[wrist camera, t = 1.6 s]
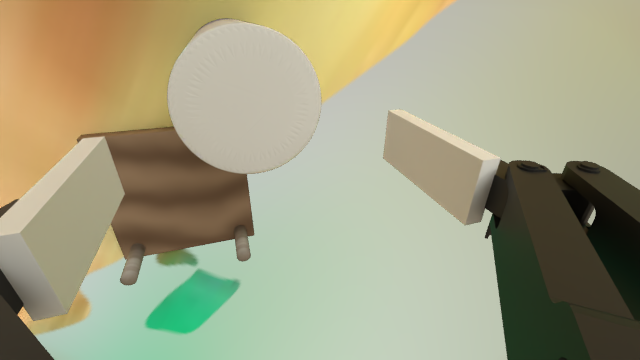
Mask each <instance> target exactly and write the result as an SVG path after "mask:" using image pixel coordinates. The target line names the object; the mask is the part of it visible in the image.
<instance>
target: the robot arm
mask: <svg viewBox="0 0 640 360" xmlns="http://www.w3.org/2000/svg"><path fill="white" fill-rule="evenodd" d="M383 158H384V159H385V160H386V161H387V162H388V163H390V164H391V165H392V166H393V167H395V168H396V169H397V170H398V171H399V172H401V173H402V174H403V175H404V176H405V177H407V178H408V179H409V180H410V181H412V182H413V183H414V184H415V185H417V186H418V187H419V188H420V189H421V190H423V191H424V192H425V193H426V194H427V195H429V196H430V197H431V198H432V199H434V200H435V201H436V202H437V203H438V204H440V205H441V206H442V207H443V208H444V209H446V210H447V211H448V212H449V213H450V214H452V215H453V216H454V217H456V218H457V219H458V220H459V221H460V222H462V223H463V224H464V225H469V224H473V223H478V222H481V220H482V216H483V213H484V210H485V208H486V209H487V210H489V211H490V212H492V213H493V214H492V217H491V220H490V223H489V226H488V229H487V232H486V235H485V238H488V237H489V235H491V236H492V243H493V250H494V259H495V266H496V274H497V282H498V289H499V297H500V305H501V313H502V320H503V328H504V335H505V343H506V351H507V359H508V360H640V190H638V189H637V188H635V187H634V186H632V185H631V184H629V183H628V182H626V181H625V180H623V179H622V178H620V177H619V176H617V175H615V174H614V173H612V172H611V171H609V170H608V169H606V168H604V167H602V166H599V165H597V164H596V163H592V162H588V161H582V162H581V161H570V162H567V163H566V166H565V168H564V171H563V173H562V174H557V173H551V171H550V170H549V169H548V168H546V167H545V166H542V165H540V164H538V163H535V162H532V161H521V160H519V161H518V160H517V161H511V162H509V164H508V163H506V162H504V161H502V160H500V159H501V158H500V157H498V156H496V155H494V154H491V153H490V152H487V151H485V150H483V149H481V148H479V147H477V146H475V145H473V144H471V143H469V142H467V141H465V140H463V139H461V138H459V137H457V136H455V135H453V134H451V133H448V132H446V131H444V130H442V129H440V128H438V127H436V126H434V125H432V124H430V123H428V122H426V121H424V120H422V119H420V118H418V117H416V116H414V115H412V114H409V113H407V112H405V111H403V110H389V111H388V119H387V128H386V137H385V146H384V155H383ZM124 195H125V193H124V190H123V187H122V184H121V181H120V179H119V176H118V173H117V170H116V167H115V164H114V162H113V159H112V156H111V153H110V150H109V148H108V145H107V142H106V139H105V136H103V137H92V138H83V139H82V140H81V141H80V142H79V143H78V144H77V145H76V146H74V147H73V148H72V149H71V150H70V151H69V152H68V153H67V154H66V155H65V156H64V157H63V158H62V159H61V160H60V161H59V162H58V163H57V164H56V165H55V166H54V167H53V168H52V169H51V170H49V171H48V172H47V173H46V174H45V175H44V176H43V177H42V178H41V179H40V180H39V181H38V182H37V183H36V184H35V185H34V186H33V187H32V188H31V189H30V190H29V191H28V192H27V193H26V194H24V195H23V196H22V197H21V198H20V199H17V200H14V201H13V202H11V203H9V204H7V205H5V206H4V207H2V208H0V360H54V359H53V358H52V356H51V355H50V354H49V353H48V352H47V350H45V348H44V347H43V346H42V345H41V343H40V342H39V341H38V340H37V338H36V337H35V336H34V335H33V333H32V332H31V331H30V330H29V329H28V327H27V326H26V325H25V324H24V323H23V321H22V320H21V319H20V318H19V317H18V315H17V314H18V313H19V311H20V310H21V308H22V307H24V308H25V310H26V311H27V313H28V314H29V315H30V317H31V318H32V320H33V321H36V320H41V319H45V318H50V317H54V316H59V315H63V314H67V313H68V311H69V309H70V307H71V305H72V303H73V301H74V299H75V297H76V294H77V292H78V290H79V288H80V286H81V284H82V282H83V280H84V278H85V276H86V274H87V272H88V269H89V267H90V265H91V263H92V261H93V259H94V257H95V255H96V253H97V251H98V249H99V247H100V244H101V242H102V240H103V238H104V236H105V234H106V232H107V230H108V228H109V226H110V224H111V222H112V220H113V217H114V215H115V213H116V211H117V209H118V207H119V205H120V203H121V201H122V199H123V197H124ZM594 208H595V210H596V216H595V219H594V221H593V223H592V225H590V224H589V223H588V222H587V221H588V219H589V218H590V216H591V214H592V212H593V210H594Z"/></svg>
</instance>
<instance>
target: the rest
mask: <svg viewBox="0 0 640 360" xmlns="http://www.w3.org/2000/svg"><path fill="white" fill-rule="evenodd" d="M103 136H105V139H106V142H107V145H108V148H109V150H110V153H111V156H112V159H113V162H114V164H115V167H116V170H117V173H118V176H119V179H120V181H121V184H122V187H123V190H124V193H125V195H124V197H123V199H122V201H121V203H120V205H119V207H118V209H117V211H116V213H115V215H114V217H113V220H112V222H111V225H112V228H113V230H114V233H115V235H116V238H117V240H118V243H119V245H120V247H121V250H122V252H123V255H124V257H125V259H127V261H126V263H125V266H124V269H123V272H122V276H121V278H120V281H121V283H122V284H124V285H132V284H135V283H136V281H137V278H138V274H139V270H140V267H141V263H142V260H143V256H147V255H152V254H158V253H163V252H168V251H173V250H179V249H184V248H189V247H194V246H200V245H205V244H210V243H216V242H221V241H226V240H232V239H235V243H236V252H237V259H238V260H239V261H246V260H248V259H249V258H250V256H251V254H250V249H249V243H248V237H247V236H253V235H254V228H253V220H252V212H251V204H250V196H249V189H248V181H247V174H240V173H233V172H228V171H224V170H221V169H218V168H216V167H214V166H212V165H210V164H208V163H206V162H204V161H203V160H201V159H200V158H199V157H197V156H196V155H195V154H194V153H193V152H192V151H191V150H190V149H189V148H188V147H187V146H186V145H185V144H184V143H183V141H182V140H181V138H180V137H179V135H178V134H177V132H176V130H175V128H174V127H166V128H155V129H144V130H132V131H121V132H110V133H98V134H87V135H81V136H80V137H79V138H78V139H77V141H78V143H79V142H80V141H81V140H82V139H83V138H92V137H103Z"/></svg>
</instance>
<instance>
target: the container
mask: <svg viewBox="0 0 640 360" xmlns="http://www.w3.org/2000/svg"><path fill="white" fill-rule="evenodd" d="M167 101H168V109H169V114H170V117H171V120H172V123H173V126H174V128H175V130H176V132H177V134H178V135H179V137H180V138H181V140H182V141H183V143H184V144H185V145H186V146H187V147H188V148H189V149H190V150H191V151H192V152H193V153H194V154H195V155H196V156H197V157H199V158H200V159H201V160H203V161H204V162H206V163H208V164H210V165H212V166H214V167H216V168H218V169H221V170H224V171H228V172H233V173H240V174H254V173H261V172H266V171H269V170H273V169H275V168H278V167H280V166H282V165H284V164H285V163H287V162H289V161H290V160H291V159H293V158H294V157H295V156H297V155H298V154H299V153H300V152H301V151H302V150H303V149H304V147H305V146H306V145H307V143H308V142H309V141H310V139H311V138H312V136H313V134H314V132H315V130H316V127H317V124H318V121H319V116H320V112H321V90H320V85H319V81H318V78H317V75H316V72H315V70H314V68H313V66H312V64H311V62H310V61H309V59H308V58H307V56H306V55H305V54H304V52H303V51H302V50H301V49H300V48H299V47H298V46H297V45H296V44H295V43H294V42H293V41H292V40H290V39H289V38H287V37H286V36H284V35H283V34H281V33H279V32H277V31H275V30H273V29H271V28H268V27H265V26H261V25H257V24H253V23H248V22H244V21H240V20H235V19H218V20H214V21H211V22H209V23H207V24H205V25H204V26H203V27H201V28H200V29H199V30H198V31H197V32H196V34H195V35H194V36H193V38H192V39H191V40H190V42H189V43H188V44H187V46H186V47H185V49H184V50H183V51H182V53H181V54H180V56H179V57H178V59H177V60H176V62H175V64H174V66H173V69H172V71H171V75H170V78H169V83H168V91H167Z"/></svg>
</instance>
